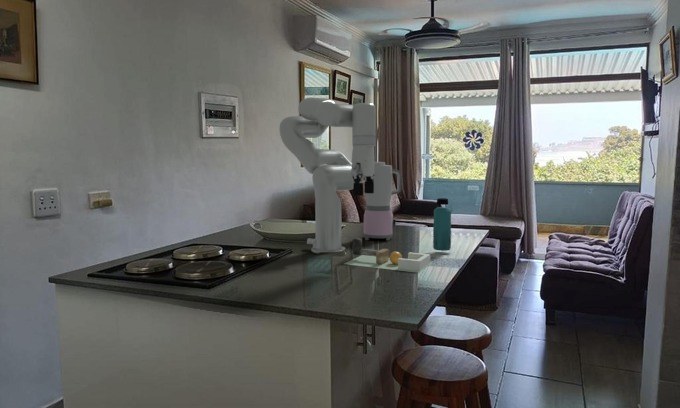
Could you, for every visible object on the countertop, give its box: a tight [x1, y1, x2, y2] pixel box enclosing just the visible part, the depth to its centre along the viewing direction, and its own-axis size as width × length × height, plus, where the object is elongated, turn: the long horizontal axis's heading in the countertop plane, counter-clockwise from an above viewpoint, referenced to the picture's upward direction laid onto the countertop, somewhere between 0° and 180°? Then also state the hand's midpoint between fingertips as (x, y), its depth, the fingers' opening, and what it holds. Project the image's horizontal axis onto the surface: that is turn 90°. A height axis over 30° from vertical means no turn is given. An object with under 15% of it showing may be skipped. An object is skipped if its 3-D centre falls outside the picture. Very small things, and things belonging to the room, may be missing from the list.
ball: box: [389, 251, 403, 264], centre depth 161 cm, size 4×4×4 cm
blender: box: [363, 161, 402, 242], centre depth 209 cm, size 16×12×32 cm
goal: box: [398, 251, 431, 272], centre depth 158 cm, size 7×11×3 cm, turn 154°
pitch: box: [343, 254, 434, 274], centre depth 162 cm, size 25×15×1 cm, turn 64°
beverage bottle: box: [432, 197, 452, 252], centre depth 182 cm, size 6×7×20 cm
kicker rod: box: [352, 237, 390, 264], centre depth 165 cm, size 12×6×7 cm, turn 64°
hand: (363, 194), depth 165 cm, fingers open, 9 cm apart
